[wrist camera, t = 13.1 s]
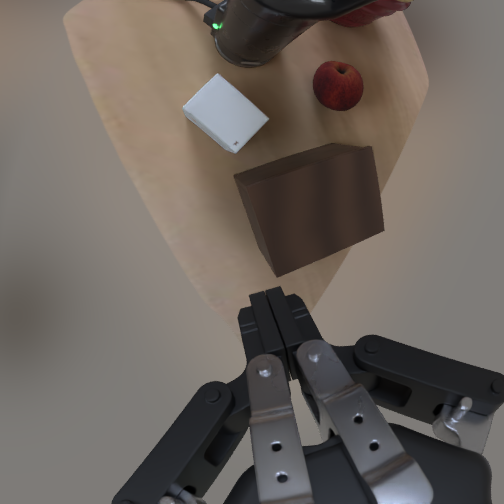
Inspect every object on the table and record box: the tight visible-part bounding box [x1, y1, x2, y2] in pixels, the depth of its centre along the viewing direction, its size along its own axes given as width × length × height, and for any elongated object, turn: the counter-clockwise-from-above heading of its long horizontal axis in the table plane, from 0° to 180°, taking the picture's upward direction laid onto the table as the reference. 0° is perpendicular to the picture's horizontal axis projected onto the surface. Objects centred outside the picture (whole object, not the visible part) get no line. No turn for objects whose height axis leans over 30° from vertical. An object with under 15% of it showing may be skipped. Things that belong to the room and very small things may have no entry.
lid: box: [245, 146, 384, 277], centre depth 35 cm, size 18×13×1 cm
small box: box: [182, 73, 269, 154], centre depth 31 cm, size 8×6×10 cm
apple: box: [313, 61, 363, 111], centre depth 33 cm, size 7×8×8 cm
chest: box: [234, 143, 363, 274], centre depth 39 cm, size 17×13×9 cm
